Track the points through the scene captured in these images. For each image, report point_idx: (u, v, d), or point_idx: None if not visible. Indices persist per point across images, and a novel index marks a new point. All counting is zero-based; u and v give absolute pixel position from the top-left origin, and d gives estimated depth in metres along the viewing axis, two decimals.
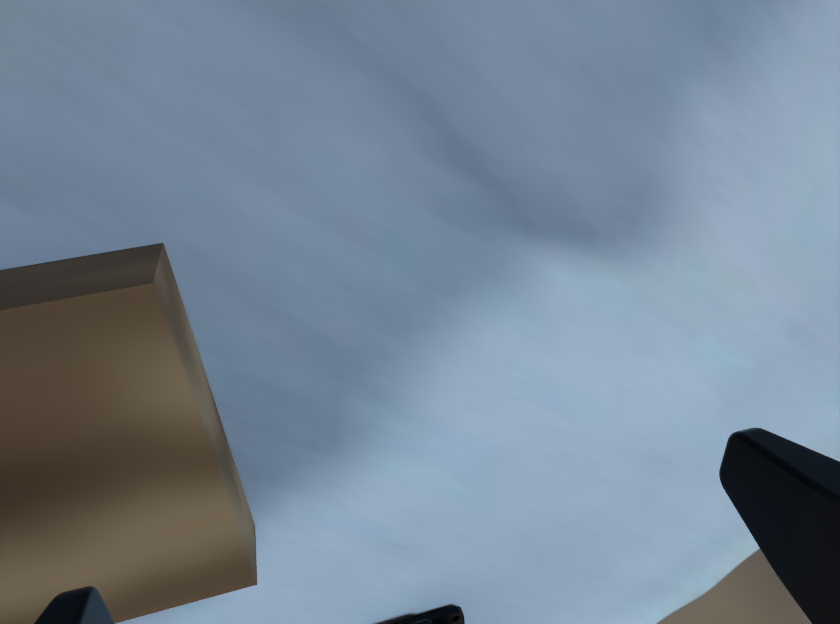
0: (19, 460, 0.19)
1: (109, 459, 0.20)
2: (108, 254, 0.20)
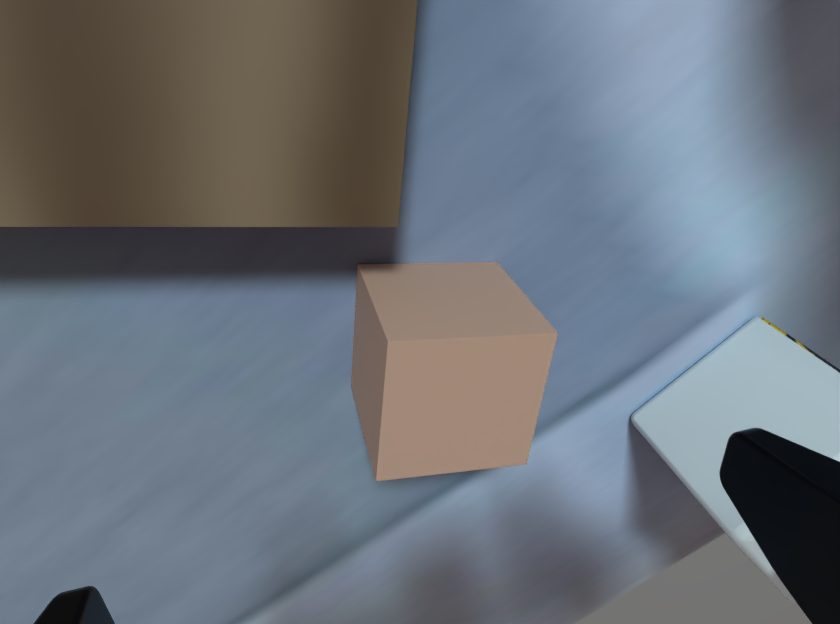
0: None
1: None
2: None
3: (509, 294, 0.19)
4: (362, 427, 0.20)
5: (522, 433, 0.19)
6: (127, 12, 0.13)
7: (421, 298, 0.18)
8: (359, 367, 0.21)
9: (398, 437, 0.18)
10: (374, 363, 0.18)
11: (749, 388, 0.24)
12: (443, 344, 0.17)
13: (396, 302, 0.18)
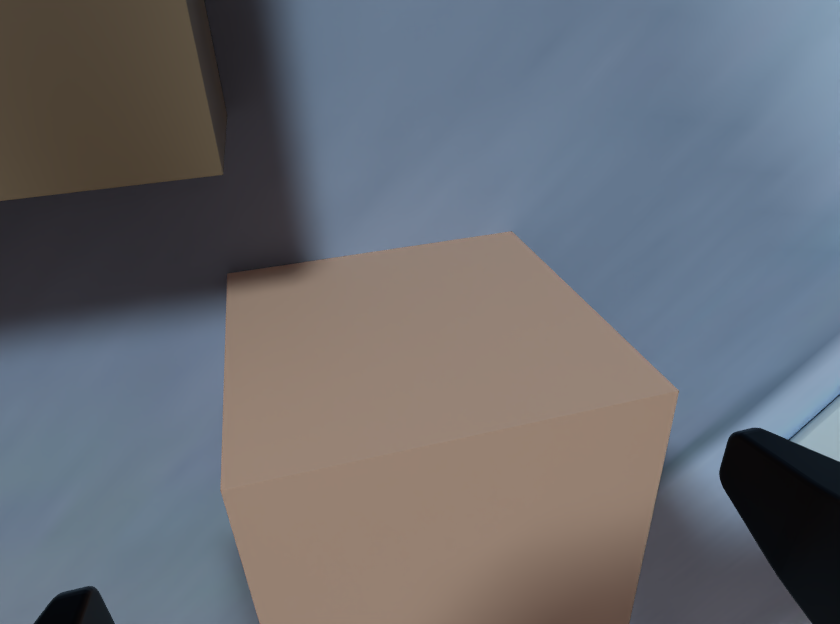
0: None
1: None
2: None
3: (544, 299, 0.09)
4: None
5: (610, 601, 0.09)
6: None
7: (343, 336, 0.08)
8: None
9: None
10: None
11: None
12: (381, 469, 0.06)
13: (282, 357, 0.08)
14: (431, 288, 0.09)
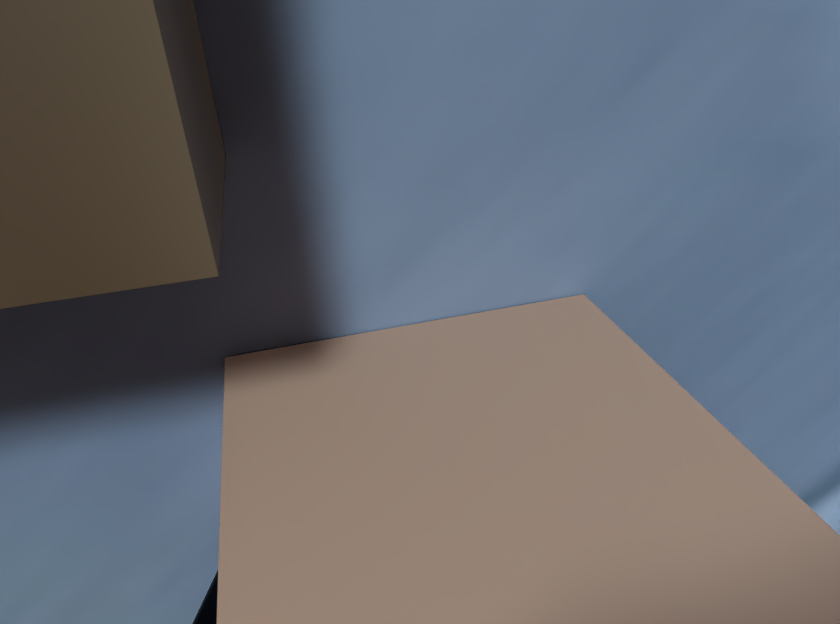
0: None
1: None
2: None
3: (656, 413, 0.06)
4: None
5: None
6: None
7: (387, 477, 0.06)
8: None
9: None
10: None
11: None
12: None
13: (300, 517, 0.05)
14: (497, 390, 0.07)
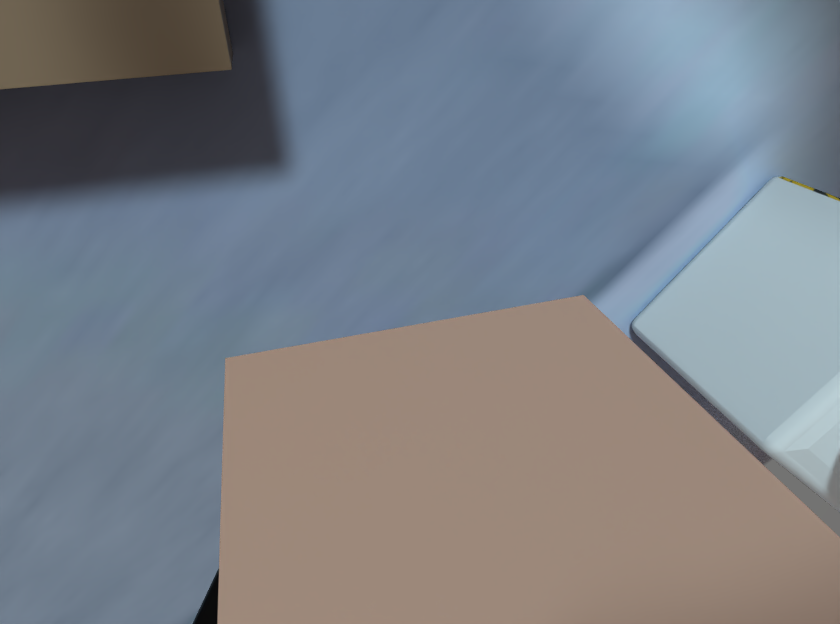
0: None
1: None
2: None
3: (655, 414, 0.06)
4: None
5: None
6: None
7: (388, 478, 0.06)
8: None
9: None
10: None
11: (772, 263, 0.19)
12: None
13: (302, 517, 0.05)
14: (497, 391, 0.07)
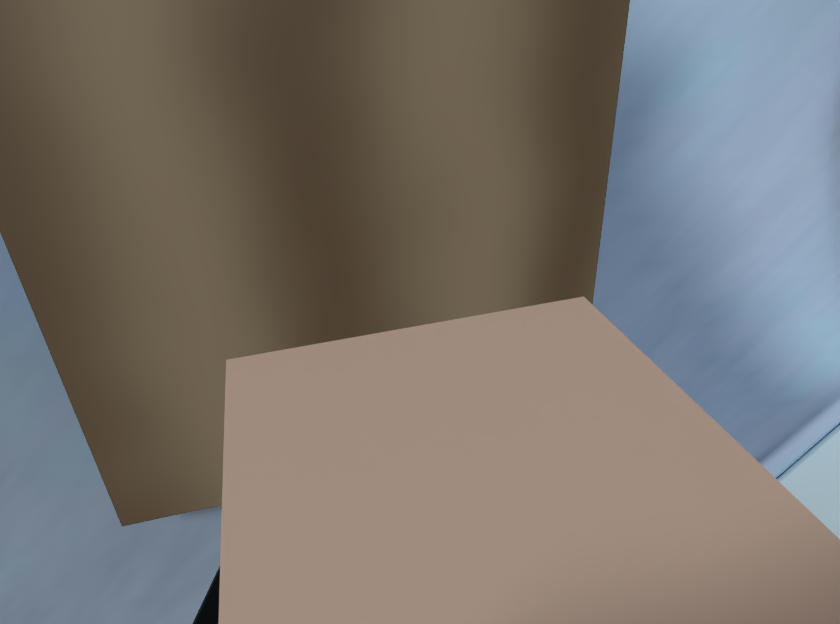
0: (260, 221, 0.14)
1: (278, 107, 0.13)
2: None
3: (655, 415, 0.06)
4: None
5: None
6: None
7: (388, 479, 0.06)
8: None
9: None
10: None
11: None
12: None
13: (303, 519, 0.05)
14: (498, 393, 0.07)
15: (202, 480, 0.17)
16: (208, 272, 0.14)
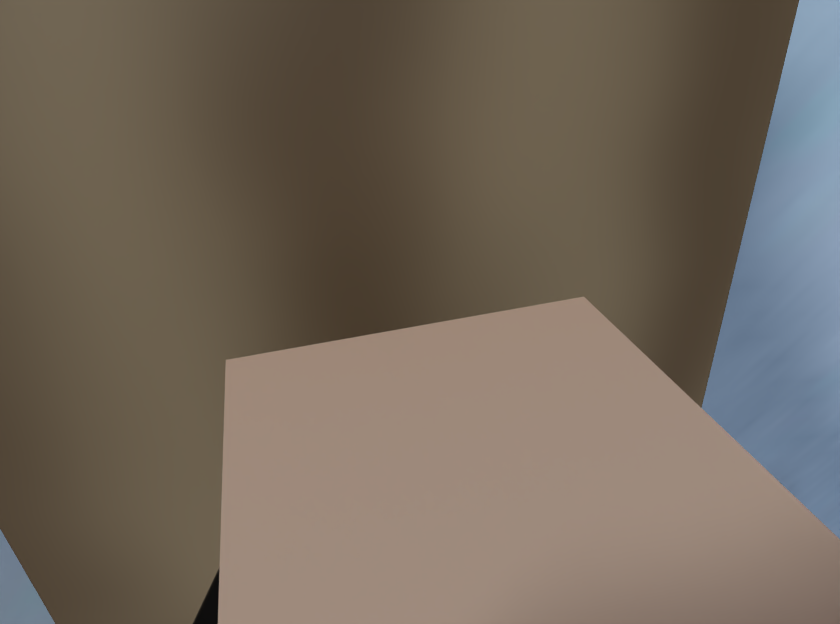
0: (280, 340, 0.10)
1: (306, 192, 0.09)
2: None
3: (656, 416, 0.06)
4: None
5: None
6: None
7: (388, 480, 0.06)
8: None
9: None
10: None
11: None
12: None
13: (301, 520, 0.05)
14: (498, 393, 0.07)
15: None
16: (210, 408, 0.10)
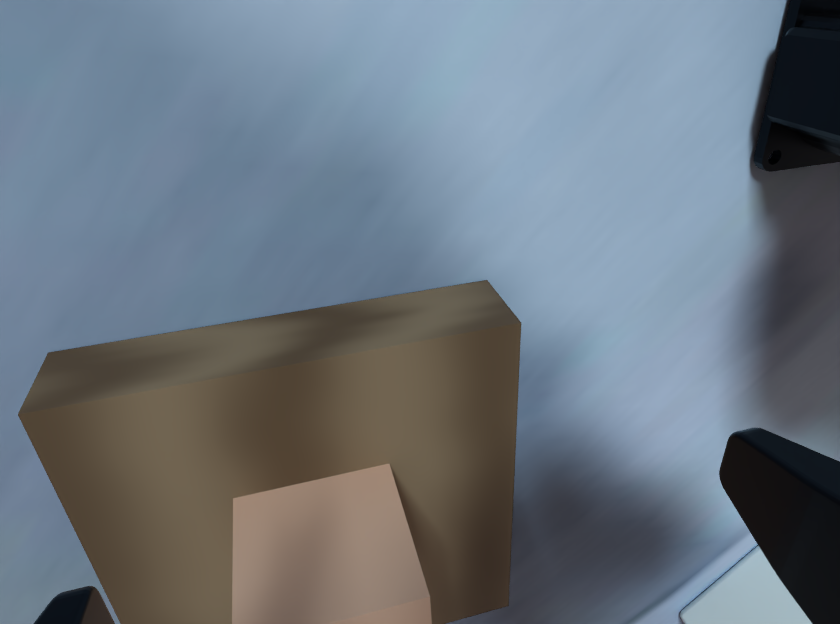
0: None
1: (271, 454, 0.18)
2: None
3: (390, 528, 0.18)
4: None
5: None
6: None
7: (289, 555, 0.17)
8: None
9: None
10: None
11: (767, 607, 0.32)
12: None
13: (259, 569, 0.17)
14: (337, 517, 0.18)
15: None
16: (224, 548, 0.20)
